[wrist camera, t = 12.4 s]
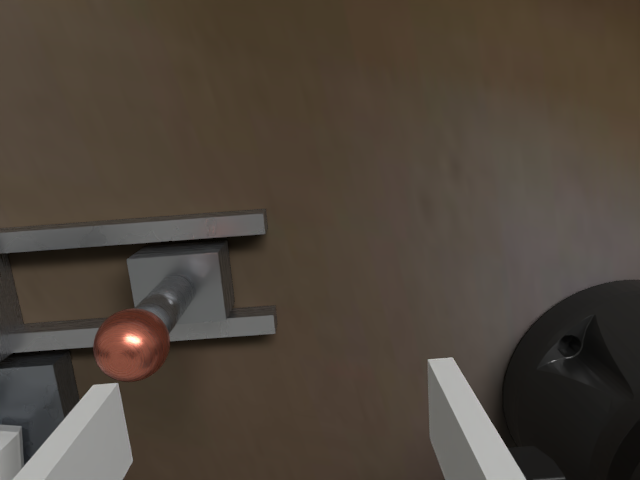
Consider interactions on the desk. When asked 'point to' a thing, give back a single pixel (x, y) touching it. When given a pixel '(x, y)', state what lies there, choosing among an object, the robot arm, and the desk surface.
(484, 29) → the desk surface
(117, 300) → the desk surface
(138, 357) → the lever
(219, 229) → the lever guide
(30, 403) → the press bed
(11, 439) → the stamp
